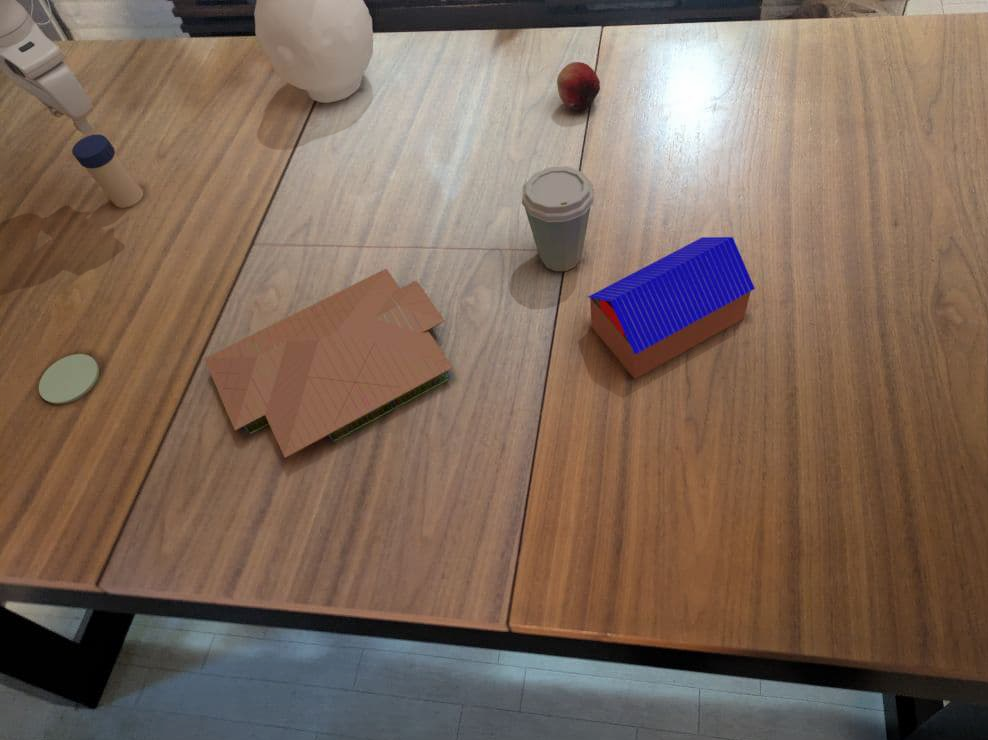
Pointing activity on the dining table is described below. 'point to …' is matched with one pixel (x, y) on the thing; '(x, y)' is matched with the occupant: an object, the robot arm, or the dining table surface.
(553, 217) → the disposable coffee cup
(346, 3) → the vase
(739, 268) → the house
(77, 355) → the coaster
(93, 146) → the lid
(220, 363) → the brown flat stepped piece
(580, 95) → the fruit
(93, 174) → the jar
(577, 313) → the dining table surface
